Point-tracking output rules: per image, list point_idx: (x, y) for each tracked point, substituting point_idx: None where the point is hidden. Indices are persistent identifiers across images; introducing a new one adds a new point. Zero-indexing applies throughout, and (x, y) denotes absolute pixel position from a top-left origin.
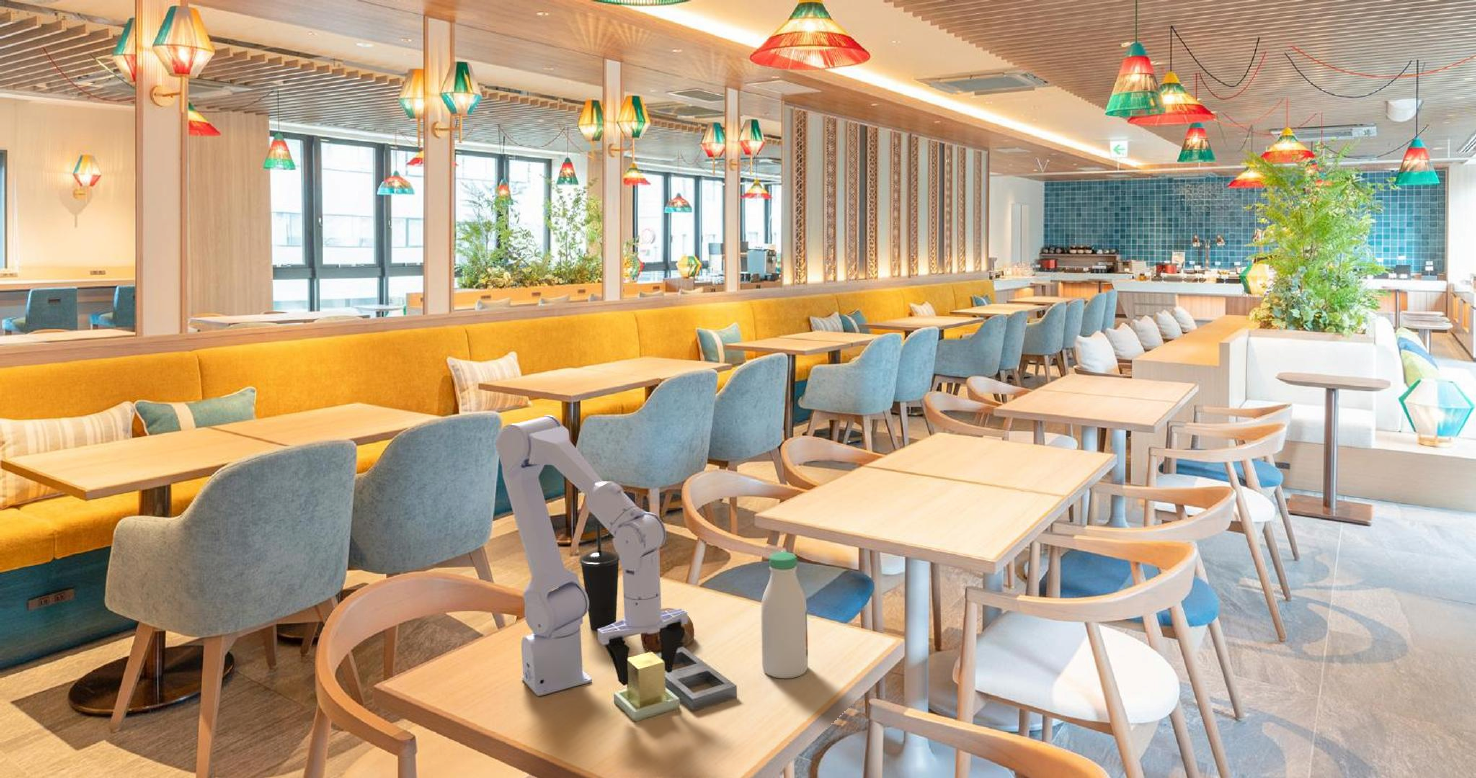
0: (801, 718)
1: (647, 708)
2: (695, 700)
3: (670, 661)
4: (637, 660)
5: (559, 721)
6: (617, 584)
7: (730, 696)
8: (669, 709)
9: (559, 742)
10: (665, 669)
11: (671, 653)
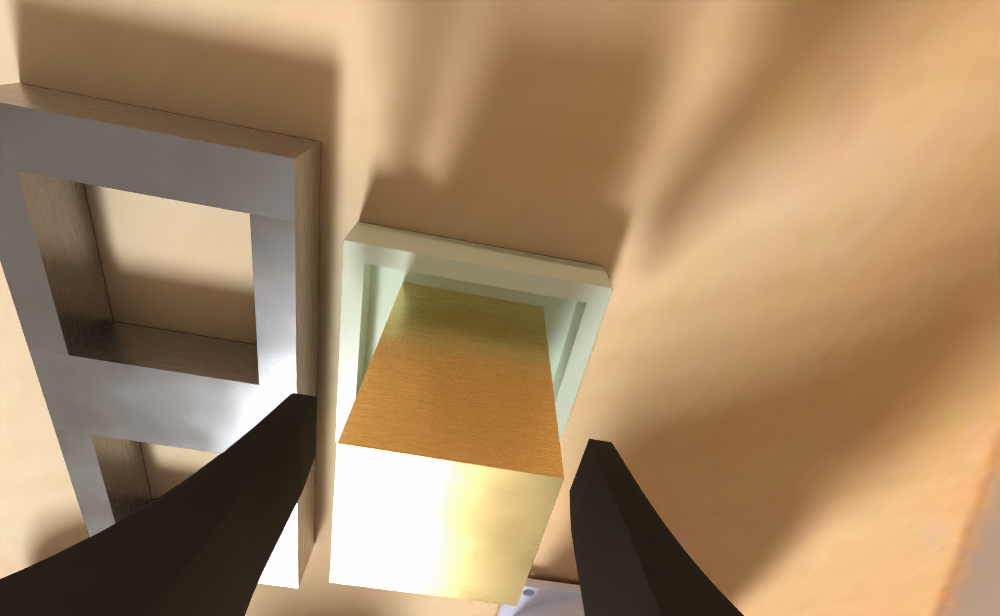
0: None
1: (540, 273)
2: (280, 150)
3: (274, 439)
4: (480, 555)
5: (791, 458)
6: None
7: (51, 93)
8: (415, 235)
9: (935, 344)
10: (314, 429)
11: (237, 483)
